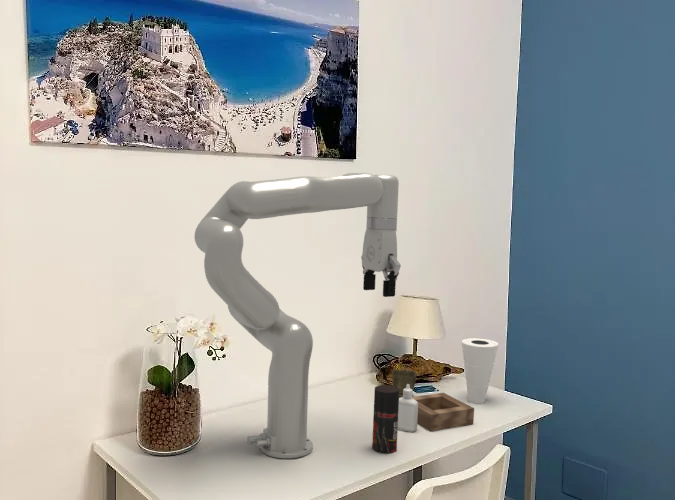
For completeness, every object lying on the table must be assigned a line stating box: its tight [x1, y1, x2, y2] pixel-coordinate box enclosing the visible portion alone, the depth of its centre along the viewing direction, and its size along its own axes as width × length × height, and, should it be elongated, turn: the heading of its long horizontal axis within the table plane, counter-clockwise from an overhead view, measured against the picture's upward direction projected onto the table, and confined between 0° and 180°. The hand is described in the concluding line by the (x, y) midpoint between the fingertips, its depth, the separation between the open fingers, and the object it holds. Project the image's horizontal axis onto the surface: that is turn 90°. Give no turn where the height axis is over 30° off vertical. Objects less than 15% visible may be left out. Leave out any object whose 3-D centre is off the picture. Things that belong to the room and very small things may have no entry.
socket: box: [412, 392, 475, 432], centre depth 184 cm, size 14×14×4 cm
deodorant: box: [371, 384, 399, 455], centre depth 162 cm, size 6×6×15 cm
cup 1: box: [391, 368, 417, 398], centre depth 201 cm, size 8×7×8 cm
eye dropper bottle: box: [398, 384, 418, 433], centre depth 176 cm, size 4×6×12 cm
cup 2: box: [461, 337, 499, 405], centre depth 199 cm, size 11×11×18 cm
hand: (378, 293), depth 168 cm, fingers open, 9 cm apart
